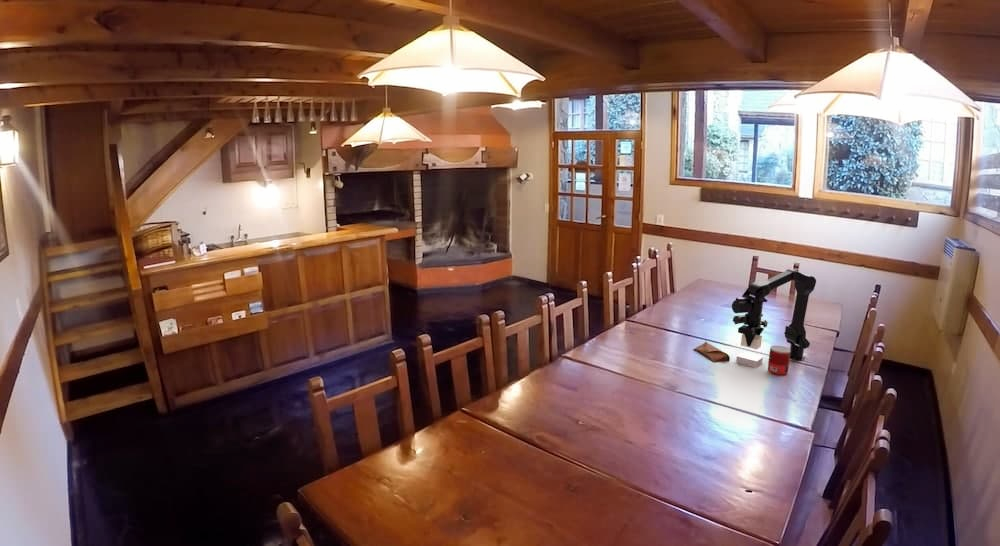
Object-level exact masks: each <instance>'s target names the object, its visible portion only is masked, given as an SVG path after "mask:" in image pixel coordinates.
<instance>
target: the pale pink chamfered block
mask: <svg viewBox="0 0 1000 546" xmlns="http://www.w3.org/2000/svg"><path fill="white" fill-rule="evenodd" d="M763 359H764V357H763V356H760V355H757V354H752V353H749V352H744V351H742V352H741V353H739V354H738V355H736V359H735V362H736V363H737V364H741V365H744V366H749V367H752V368H755V369H756V368H758V367H759V366H761V365H762V364H763Z"/></svg>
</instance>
